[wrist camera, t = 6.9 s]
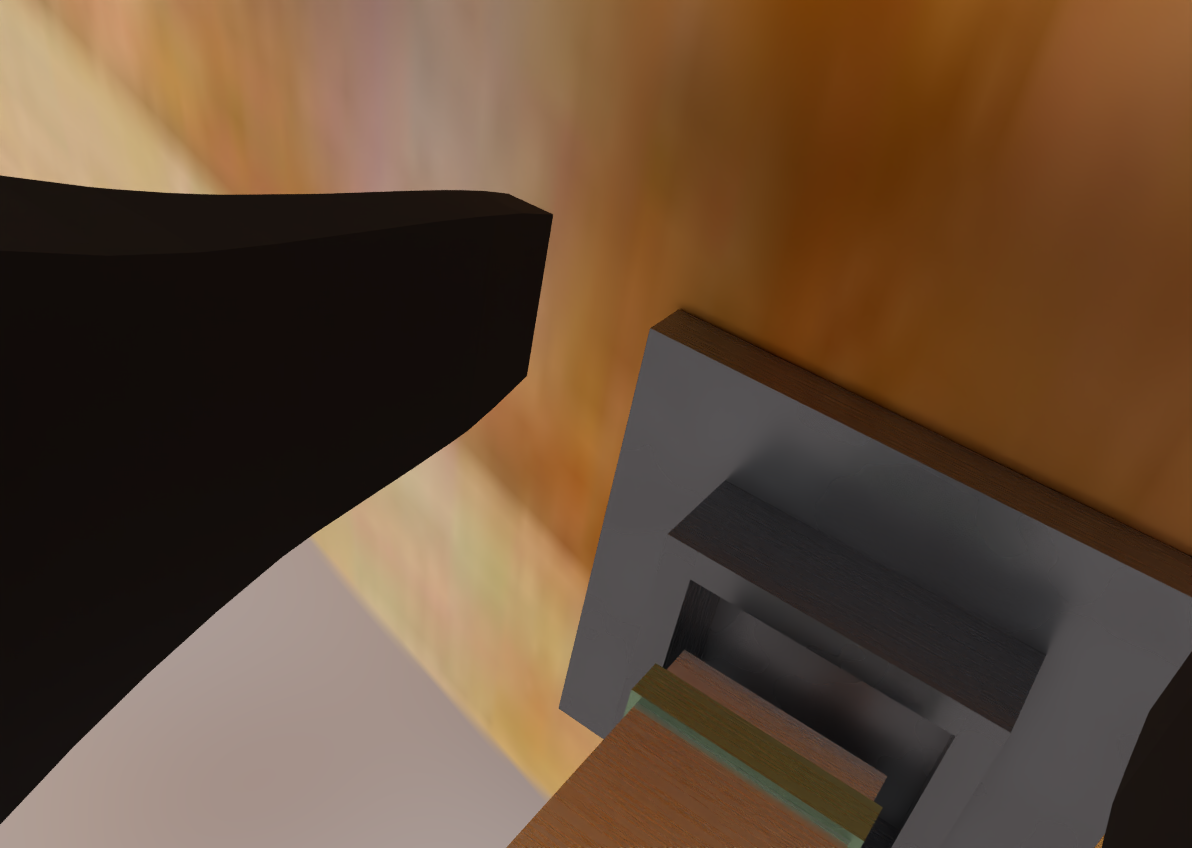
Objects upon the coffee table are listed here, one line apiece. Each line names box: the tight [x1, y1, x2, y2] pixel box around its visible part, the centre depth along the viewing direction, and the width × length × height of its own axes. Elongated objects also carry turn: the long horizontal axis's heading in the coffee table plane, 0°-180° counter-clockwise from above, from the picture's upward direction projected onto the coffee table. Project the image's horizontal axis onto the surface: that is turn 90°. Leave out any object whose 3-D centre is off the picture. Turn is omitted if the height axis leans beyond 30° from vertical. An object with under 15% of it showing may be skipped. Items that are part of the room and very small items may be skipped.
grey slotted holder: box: [559, 310, 1192, 848], centre depth 18 cm, size 10×10×5 cm
